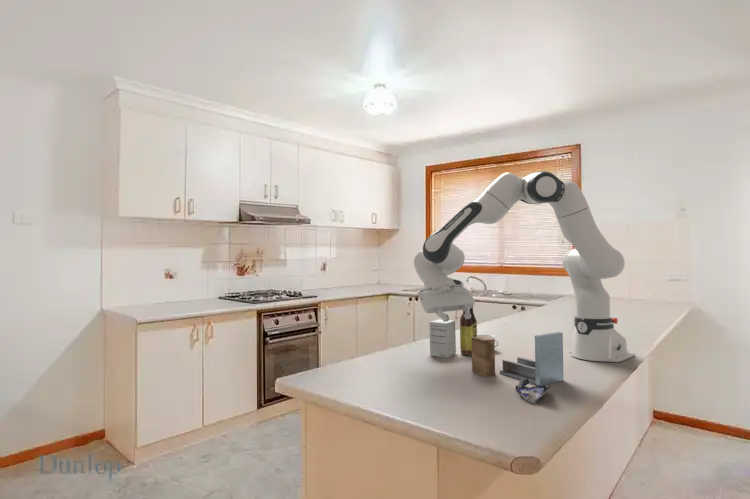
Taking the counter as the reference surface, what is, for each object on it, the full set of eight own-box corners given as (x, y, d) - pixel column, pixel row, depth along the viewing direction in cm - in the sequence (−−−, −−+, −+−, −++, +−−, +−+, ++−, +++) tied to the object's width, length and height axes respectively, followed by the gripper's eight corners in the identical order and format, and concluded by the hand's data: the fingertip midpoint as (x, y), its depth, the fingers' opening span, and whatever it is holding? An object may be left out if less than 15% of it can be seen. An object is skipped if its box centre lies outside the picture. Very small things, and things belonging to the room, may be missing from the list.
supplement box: (438, 351, 174) (438, 318, 174) (456, 354, 169) (455, 320, 169) (429, 355, 168) (428, 321, 168) (447, 358, 163) (446, 323, 163)
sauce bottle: (477, 356, 166) (476, 301, 166) (460, 355, 167) (459, 301, 167) (477, 352, 172) (476, 299, 172) (460, 351, 173) (459, 299, 173)
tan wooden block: (481, 370, 146) (481, 336, 146) (495, 374, 141) (494, 339, 141) (472, 372, 144) (471, 337, 144) (485, 376, 139) (484, 340, 139)
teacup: (470, 349, 176) (470, 336, 176) (482, 346, 182) (482, 333, 182) (492, 354, 169) (492, 339, 169) (504, 350, 174) (503, 336, 174)
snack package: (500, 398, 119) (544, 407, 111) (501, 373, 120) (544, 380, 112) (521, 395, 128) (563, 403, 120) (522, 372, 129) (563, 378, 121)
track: (522, 369, 147) (521, 325, 147) (563, 380, 133) (562, 332, 133) (499, 373, 142) (499, 328, 142) (539, 385, 128) (539, 336, 128)
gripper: (419, 283, 155) (437, 315, 146) (465, 280, 165) (485, 310, 156) (412, 295, 158) (429, 327, 150) (458, 292, 168) (476, 322, 160)
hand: (458, 319), depth 153 cm, fingers open, 8 cm apart
